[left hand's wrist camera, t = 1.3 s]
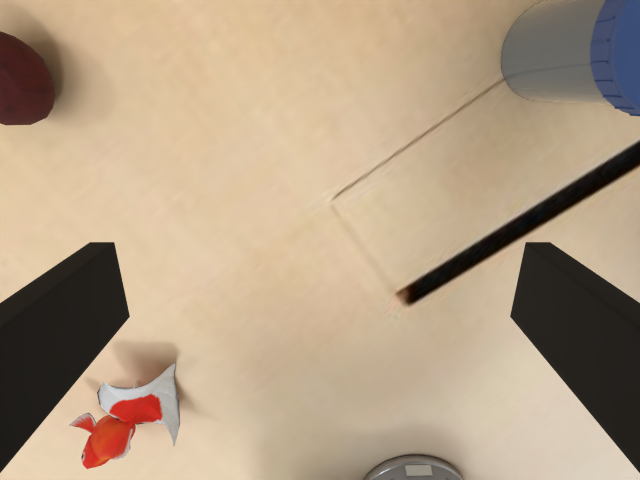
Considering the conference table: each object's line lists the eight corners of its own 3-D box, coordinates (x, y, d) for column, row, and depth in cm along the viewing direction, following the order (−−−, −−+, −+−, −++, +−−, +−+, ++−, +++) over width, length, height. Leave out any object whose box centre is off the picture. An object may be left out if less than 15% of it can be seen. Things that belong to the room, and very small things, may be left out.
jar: (486, 87, 37) (590, 88, 22) (524, -13, 34) (672, -85, 20) (567, 110, 37) (716, 124, 23) (611, 14, 34) (814, -37, 20)
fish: (30, 409, 45) (25, 484, 37) (146, 320, 48) (164, 372, 41) (98, 443, 51) (106, 513, 44) (196, 363, 55) (219, 415, 47)
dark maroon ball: (25, 16, 34) (-45, 0, 28) (89, 94, 37) (39, 96, 30) (-29, 67, 36) (-107, 63, 29) (36, 139, 38) (-23, 150, 32)
